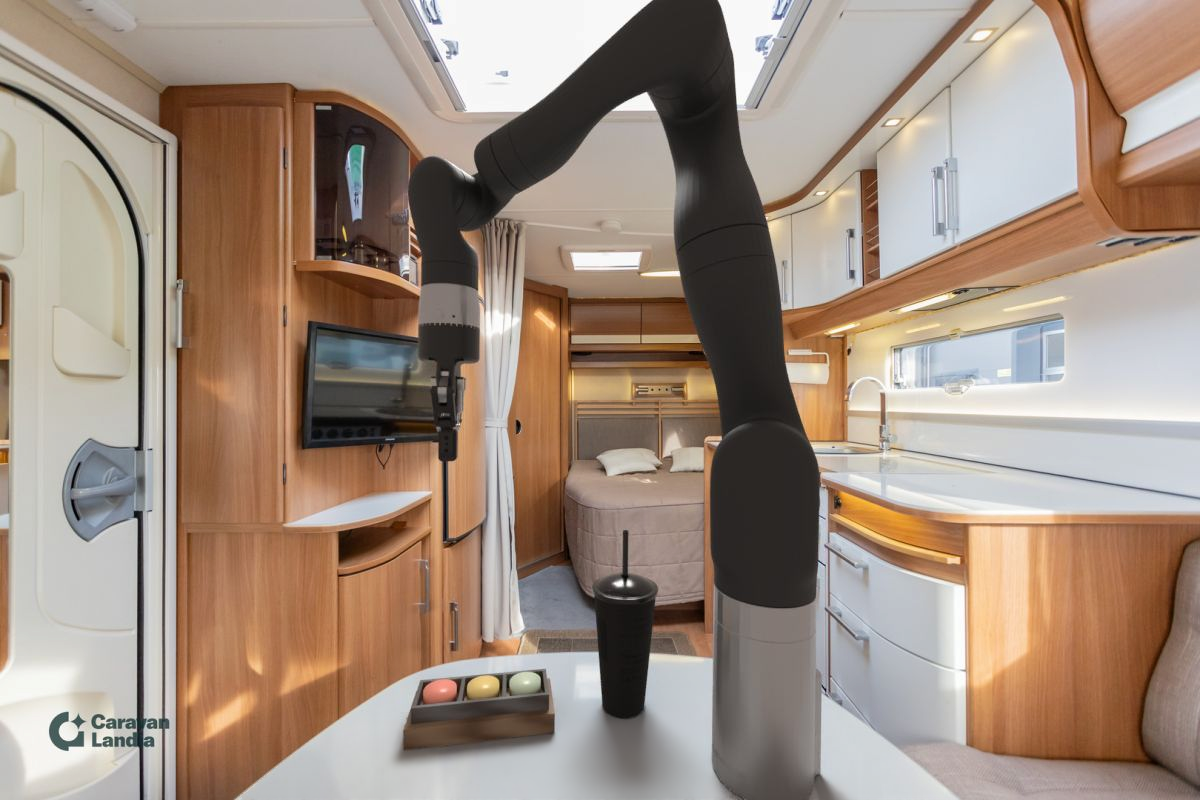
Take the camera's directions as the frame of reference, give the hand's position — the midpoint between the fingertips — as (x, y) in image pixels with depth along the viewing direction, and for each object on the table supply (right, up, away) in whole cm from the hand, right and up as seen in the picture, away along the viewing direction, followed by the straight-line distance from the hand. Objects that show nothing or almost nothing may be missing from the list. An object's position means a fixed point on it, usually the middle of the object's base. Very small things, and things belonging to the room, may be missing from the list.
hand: (448, 460), depth 61 cm
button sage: (+11, -25, -8) cm, 28 cm away
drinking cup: (+22, -28, -6) cm, 36 cm away
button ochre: (+7, -25, -9) cm, 27 cm away
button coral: (+2, -25, -10) cm, 27 cm away
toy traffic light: (+7, -27, -9) cm, 29 cm away
